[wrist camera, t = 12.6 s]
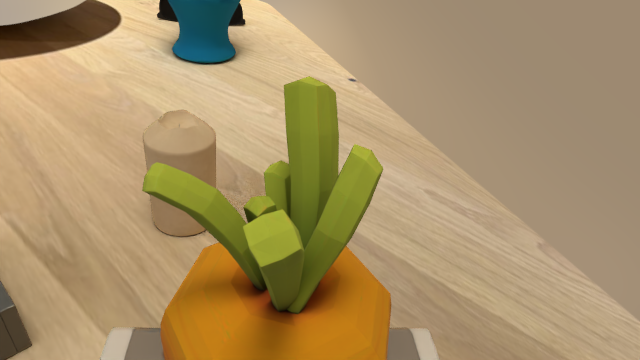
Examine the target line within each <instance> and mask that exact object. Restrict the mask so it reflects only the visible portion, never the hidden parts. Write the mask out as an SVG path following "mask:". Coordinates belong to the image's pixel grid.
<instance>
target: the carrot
mask: <svg viewBox="0 0 640 360" xmlns="http://www.w3.org/2000/svg"><path fill="white" fill-rule="evenodd" d="M284 95H285V116H286V134H287V145H288V156H289V164H287V163H285V162H283V161H279V162H277V163H274V164H272V165H270V166H269V167H268V169H267V170H266V171H265V172H264V179H265V190H266V196H256V197H252V198H251V199H250V200H249V201H248V202H247V203H246V205H245V206H244V211H245V214H246V218H247V221H248V224H246V222H245V221H244V220H243V218H242V217H241V215H240V214H239V213H238V212H237V210H236V209H235V208H234V207H233V206H232V205H231V204H230V203H229V202H228V200H227V199H226V198H225V197H224V196H223V195H222V194H221V193H220V192H219V190H217V189H216V188H214V187H212V186H210V185H208V184H207V183H205V182H203V181H201V180H200V179H198V178H196V177H194V176H192V175H191V174H188V173H186V172H183V171H181V170H178V169H176V168H173V167H171V166H168V165H166V164H162V163H158V162H156V163H154V164H153V165H152V166H151V167H150V169H149V171H148V172H147V174H146V175H145V178H144V184H143V190H142V191H144V192H146V193H148V194H150V195H152V196H154V197H156V198H158V199H160V200H162V201H164V202H166V203H168V204H170V205H172V206H174V207H176V208H178V209H180V210H182V211H184V212H186V213H187V214H189V215H190V216H191V217H192V218H193V219H194V220H196V221H197V222H198V223H199V224H200V225H201V226H203V227H204V228H205V229H206V230H207V231H208V232H209V233H210V234H212V235H213V236H214V237H215V238H216V239H217V240H218V241H219V242H220V243H216V244H214V245H211V246H209V247H206V248H204V249H203V250H202V252H201V254H200V255H199V257H198V259H197V260H196V262H195V263H194V265H193V267H192V268H191V270H190V271H189V273H188V275H187V276H186V278H185V279H184V281H183V283H182V284H181V286H180V287H179V289H178V291H177V292H176V294H175V296H174V297H173V299H172V300H171V302H170V304H169V305H168V307H167V308H166V310H165V313H164V316H163V318H162V321H161V334H160V336H161V341H162V346H163V351H164V357H165V360H387V351H388V339H389V326H390V313H391V297H390V293H389V292H388V291H387V289H386V288H385V287H384V286H383V285H382V284H381V283H380V282H379V281H378V280H377V279H376V278H375V277H374V275H373V274H372V273H371V272H370V271H369V270H368V269H367V268H366V267H365V266H364V265H363V264H362V263H361V261H360V260H359V259H358V258H357V257H356V256H355V255H354V254H353V253H352V252H351V251H350V250H349V248H348V247H347V246H346V245H347V243H348V242H349V241H350V239H351V238H352V236H353V234H354V232H355V230H356V228H357V227H358V225H359V223H360V221H361V219H362V217H363V215H364V213H365V211H366V209H367V208H368V206H369V204H370V201H371V199H372V196H373V194H374V191H375V189H376V186H377V184H378V181H379V179H380V176H381V174H382V171H383V167H382V166H381V164H380V163H379V162H378V160H377V158H376V157H375V155H374V153H373V152H372V150H369V149H366V148H364V147H361V146H358V145H356V144H354V146H353V148H352V150H351V152H350V154H349V156H348V158H347V160H346V162H345V164H344V166H343V168H342V170H341V172H340V174H339V176H338V149H339V132H338V119H337V105H336V93H335V92H334V91H333V90H332V89H331V88H330V87H329V86H328V85H327V84H325V83H322V82H320V81H318V80H316V79H314V78H312V77H310V76H309V77H306V78H303V79H300V80H297V81H295V82H292V83H289V84H286V85H284Z"/></svg>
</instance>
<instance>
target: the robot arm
mask: <svg viewBox="0 0 640 360" xmlns="http://www.w3.org/2000/svg"><path fill="white" fill-rule="evenodd" d="M160 334H161V328H136V327H113V328H112V330H111V331H110V333H109V334H108V337H107V340H106V343H105V346H104V349H103V351H102V354H101V357H100V360H165V357H164V351H163V346H162V341H161V336H160ZM387 360H440V359H439V356H438V353H437V350H436V348H435V345H434V342H433V339H432V336H431V333H430V332H429V330H428V329H427V328H389V339H388V351H387Z"/></svg>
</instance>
